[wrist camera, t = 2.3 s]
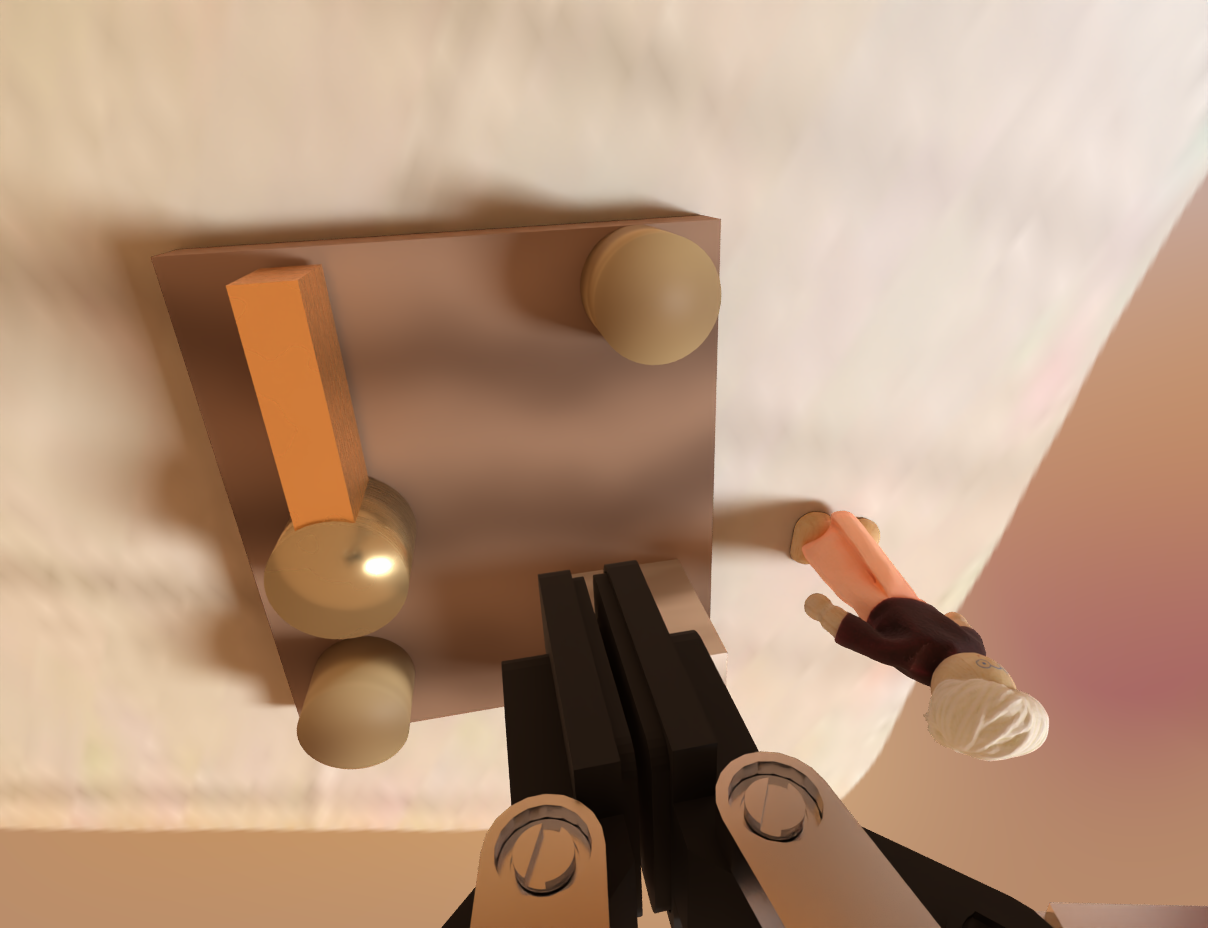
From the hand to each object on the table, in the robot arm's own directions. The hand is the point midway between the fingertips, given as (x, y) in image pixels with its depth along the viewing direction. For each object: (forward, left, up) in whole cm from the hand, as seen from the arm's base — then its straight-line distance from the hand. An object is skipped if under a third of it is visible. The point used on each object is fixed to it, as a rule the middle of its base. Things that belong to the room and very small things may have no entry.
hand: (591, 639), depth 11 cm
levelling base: (+5, -2, -16) cm, 17 cm away
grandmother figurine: (+10, +13, -16) cm, 23 cm away
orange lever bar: (+1, -7, -14) cm, 15 cm away
